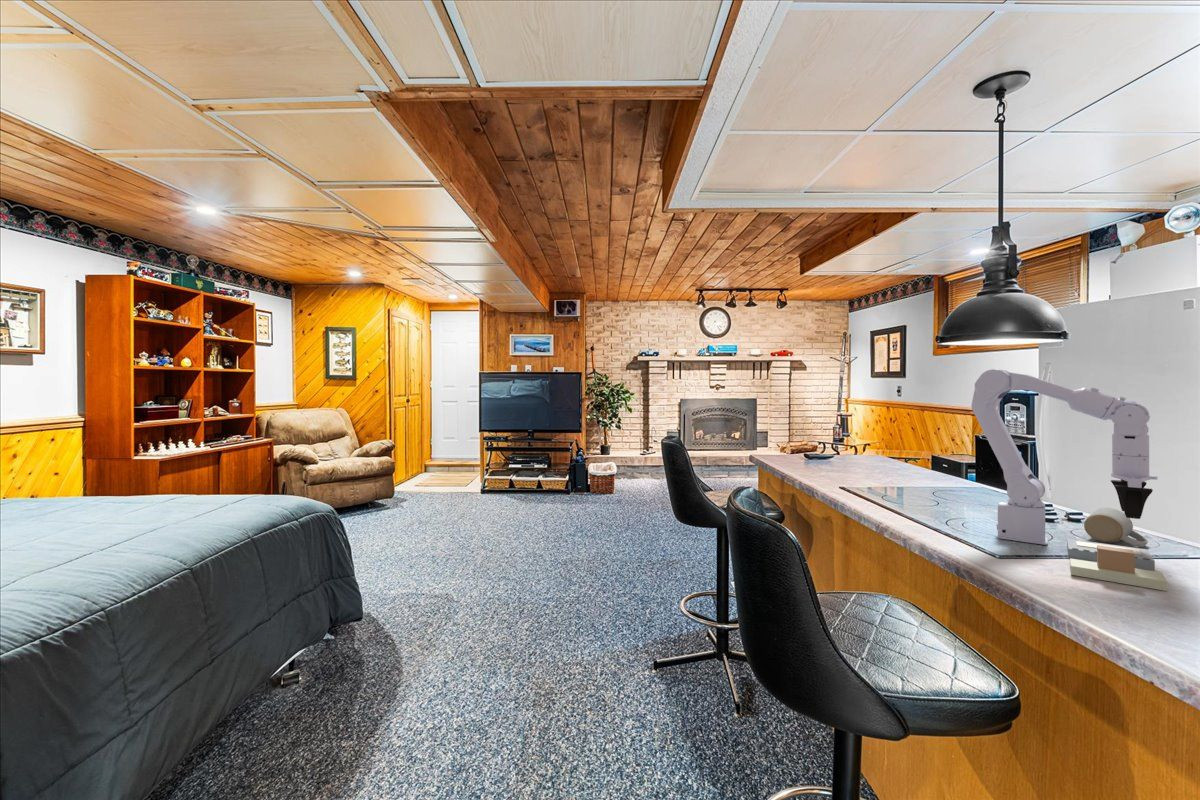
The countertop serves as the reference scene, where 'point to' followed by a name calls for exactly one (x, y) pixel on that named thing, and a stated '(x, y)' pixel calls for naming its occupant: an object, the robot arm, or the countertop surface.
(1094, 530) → the ceramic mug
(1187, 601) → the countertop surface
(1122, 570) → the stub
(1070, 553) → the board
